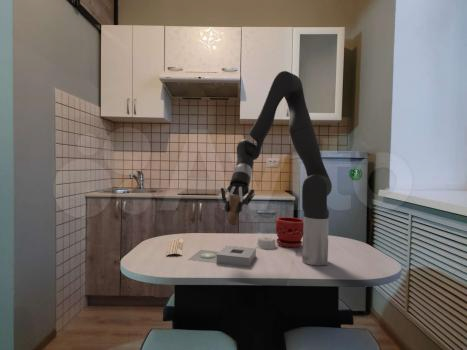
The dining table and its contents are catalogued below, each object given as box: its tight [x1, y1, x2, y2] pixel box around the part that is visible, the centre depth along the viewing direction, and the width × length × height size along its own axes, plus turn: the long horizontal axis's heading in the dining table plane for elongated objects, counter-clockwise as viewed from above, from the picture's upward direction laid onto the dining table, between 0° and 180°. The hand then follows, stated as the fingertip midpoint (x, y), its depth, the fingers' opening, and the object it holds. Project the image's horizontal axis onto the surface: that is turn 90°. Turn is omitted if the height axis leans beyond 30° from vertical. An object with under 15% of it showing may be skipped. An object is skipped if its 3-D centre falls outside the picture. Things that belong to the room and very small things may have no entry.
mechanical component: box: [254, 236, 278, 250], centre depth 128 cm, size 10×4×10 cm
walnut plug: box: [228, 194, 240, 226], centre depth 109 cm, size 4×4×11 cm
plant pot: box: [275, 216, 303, 248], centre depth 135 cm, size 13×13×12 cm
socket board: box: [187, 245, 257, 268], centre depth 111 cm, size 23×13×4 cm, turn 75°
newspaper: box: [166, 237, 184, 257], centre depth 126 cm, size 24×7×2 cm, turn 8°
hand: (232, 211), depth 108 cm, fingers closed on walnut plug, 3 cm apart
